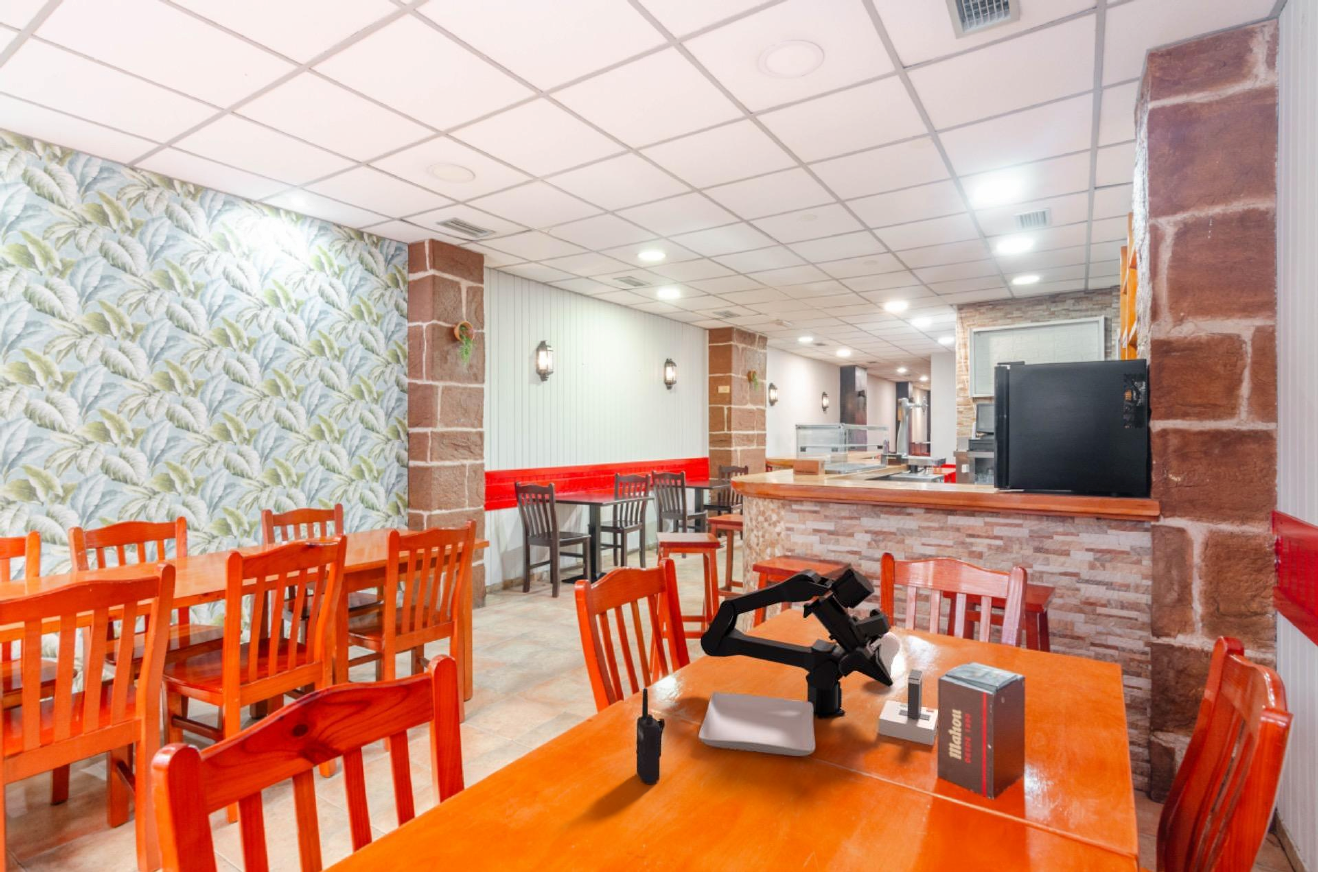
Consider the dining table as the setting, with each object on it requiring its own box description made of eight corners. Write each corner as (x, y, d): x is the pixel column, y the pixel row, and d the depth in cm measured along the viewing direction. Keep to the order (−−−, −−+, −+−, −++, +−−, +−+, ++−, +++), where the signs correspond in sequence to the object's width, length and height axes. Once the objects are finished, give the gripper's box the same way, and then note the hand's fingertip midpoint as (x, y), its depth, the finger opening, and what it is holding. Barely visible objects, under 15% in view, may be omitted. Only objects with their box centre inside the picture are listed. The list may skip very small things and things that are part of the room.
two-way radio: (633, 771, 116) (634, 685, 116) (657, 766, 118) (658, 682, 117) (644, 787, 111) (645, 697, 111) (669, 782, 113) (670, 694, 112)
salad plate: (815, 767, 119) (816, 748, 119) (697, 754, 123) (697, 735, 123) (812, 716, 140) (813, 700, 140) (711, 706, 144) (711, 690, 144)
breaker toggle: (907, 716, 131) (907, 677, 131) (910, 707, 136) (911, 668, 136) (918, 719, 130) (919, 679, 130) (921, 709, 135) (922, 670, 135)
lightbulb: (895, 672, 164) (896, 627, 164) (902, 682, 158) (903, 635, 158) (868, 670, 165) (869, 626, 164) (874, 680, 158) (875, 634, 158)
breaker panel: (878, 733, 131) (878, 717, 131) (886, 713, 140) (887, 699, 140) (933, 745, 127) (933, 729, 127) (938, 724, 136) (938, 709, 136)
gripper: (857, 609, 129) (916, 678, 124) (875, 588, 145) (927, 648, 140) (815, 643, 133) (871, 710, 128) (837, 619, 149) (887, 678, 144)
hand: (891, 685), depth 135 cm, fingers closed
